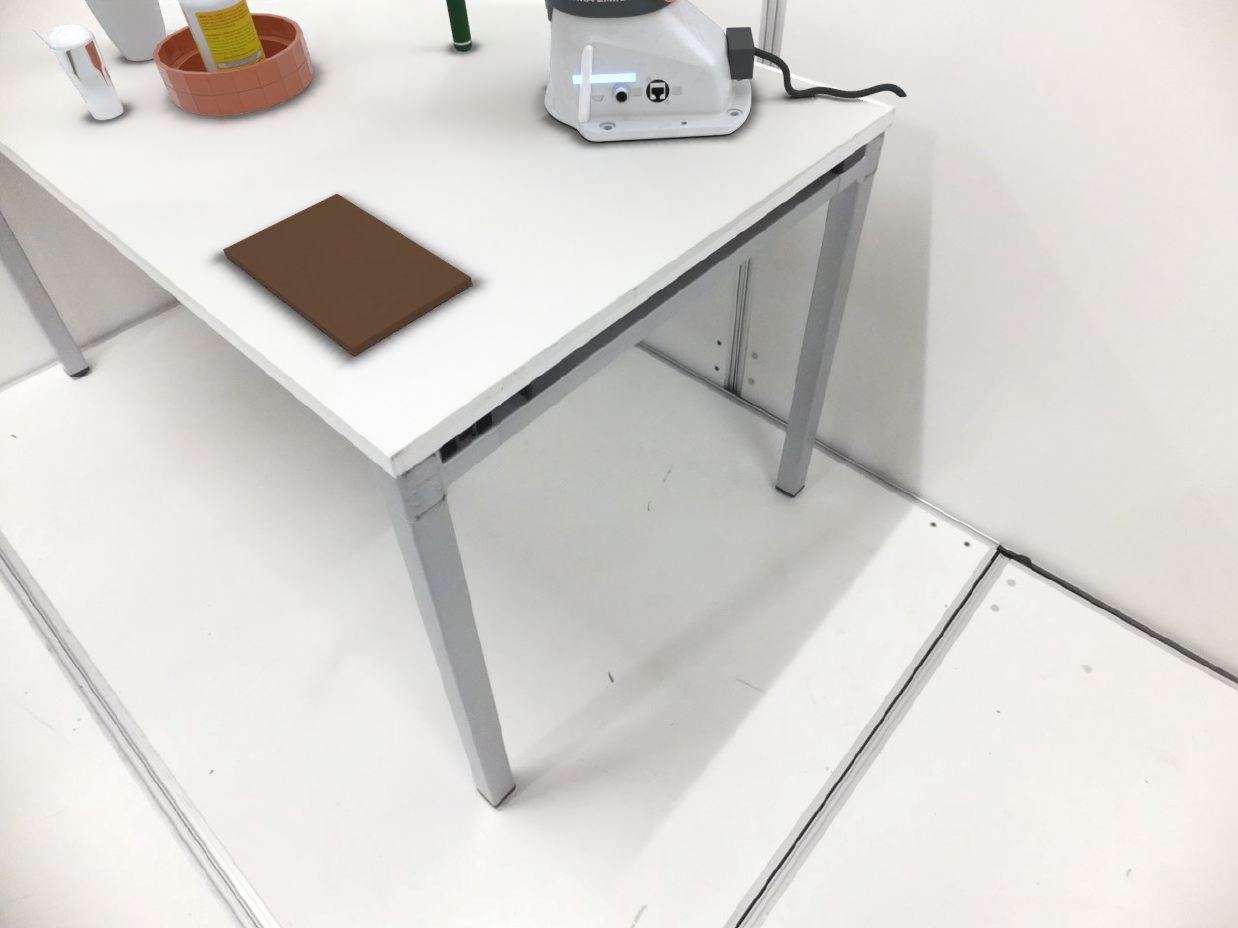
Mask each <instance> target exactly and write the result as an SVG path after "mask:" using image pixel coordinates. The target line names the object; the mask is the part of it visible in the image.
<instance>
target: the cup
mask: <svg viewBox="0 0 1238 928" xmlns="http://www.w3.org/2000/svg"><path fill="white" fill-rule="evenodd" d="M84 1H85V3H86V5H87V7H88V9H89V10H90V12H91V14H92V15H93V16H94V18H95V19H96V21H97V22H98V23H99V25H100V27H101V29H103V31H104V33H105V34H106V35H107V37H108V39H109V40H110V41H111V43H112V44H114V46H115V47H116V49H118V50H119V52H120V53H121V54H122V55H123V56H124V57H125V59H127V60H128V61H132V62H143V61H145V62H146V61H150V60H154V58H153V52H154V50H155V48H156V46H157V44H159V43H160V42H161V41H162V40H163V39H165V38H166V37H167V30H166V25H165V21H164V16H163V12H162V9H161V5H160V1H159V0H84Z"/></svg>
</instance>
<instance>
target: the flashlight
mask: <svg viewBox="0 0 1238 928" xmlns="http://www.w3.org/2000/svg"><path fill="white" fill-rule="evenodd" d="M445 3H446V9H447V15H448V18H449V25H450V31H451V37H452V41H453V46H454V49H456V50H457V51H458V52H459V51H460V52H466V51H468V50H471V49H472V46H473V40H472V35H471V34H472V33H471V29H470V23H469V16H468V10H467V4H466V0H445Z"/></svg>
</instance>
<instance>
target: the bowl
mask: <svg viewBox="0 0 1238 928" xmlns="http://www.w3.org/2000/svg"><path fill="white" fill-rule="evenodd" d="M250 14H251V17H252V20H253V22H254V25H255V28H256V31H257V34H258V37H259V39H260V42H261V45H262V48H263V51H264V53H265V56H266V59H265V60H262V61H260V62H257V63H254V64H252V65H248V66H243V67H239V68H235V69H230V70H222V71H212V72H207V70H206V68H205V65H204V63H203V60H202V58H201V55H200V53H199V50H198V48H197V45H196V43H195V41H194V38H193V36H192V33H191V31H190V28H189V26H188V25H186V26H183V27H181V28H180V29H178V30H175V31H174V32H172V33H170V34H168V35H166V38H165V39H163V40H162V41H161V42H160V43H159V44H157V46H156V48H155V50H154V52H153V58H154V59H153V61H154V64H155V66H156V68H157V70H158V73H159V75H160V77H161V79H162V82H163V84H164V86H165V89H166V90H167V92H168V95H169V97H170V100H171V101H172V104H174V105H175V106H176V107H178V108H180V109H181V110H183V111H184V112H189V113H192V114H197V115H200V116H201V115H202V116H231V115H241V114H247V113H252V112H256V111H257V112H258V111H260V110H264V109H267V108H271V107H273V106H276V105H278V104H280V103H284V102H285V101H288V100H290V99H291V98H293V97H294V96H296V95H298V94H299V93H301V92H302V91H304V90H305V89H306V88H307V87H308V86H309V84H310V83H311V82H312V81H313V78H314V72H315V68H314V64H313V62H312V58H311V55H310V52H309V48H308V45H307V41H306V38H305V35H304V32H303V30H302V27H301V26H300V25H299V23H298V22H297V21H295V20H293V19H291V18H289V17H287V16H283V15H280V14H279V15H278V14H274V13H266V12H265V13H263V12H261V13H260V12H250Z"/></svg>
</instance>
